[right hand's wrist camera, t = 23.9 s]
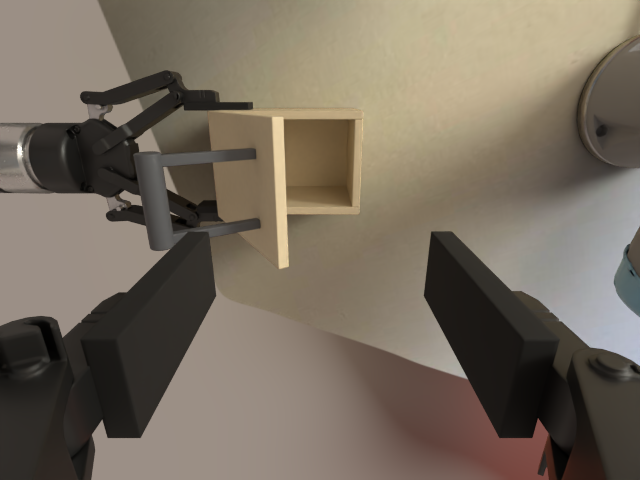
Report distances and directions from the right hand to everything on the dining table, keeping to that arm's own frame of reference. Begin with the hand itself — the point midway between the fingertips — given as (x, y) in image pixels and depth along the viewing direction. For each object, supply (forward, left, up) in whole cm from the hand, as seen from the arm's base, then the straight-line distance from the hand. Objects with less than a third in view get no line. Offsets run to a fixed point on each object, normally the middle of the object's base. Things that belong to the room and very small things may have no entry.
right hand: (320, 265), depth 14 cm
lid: (+2, -6, -17) cm, 18 cm away
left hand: (+2, -7, -28) cm, 29 cm away
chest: (+1, -3, -34) cm, 34 cm away
